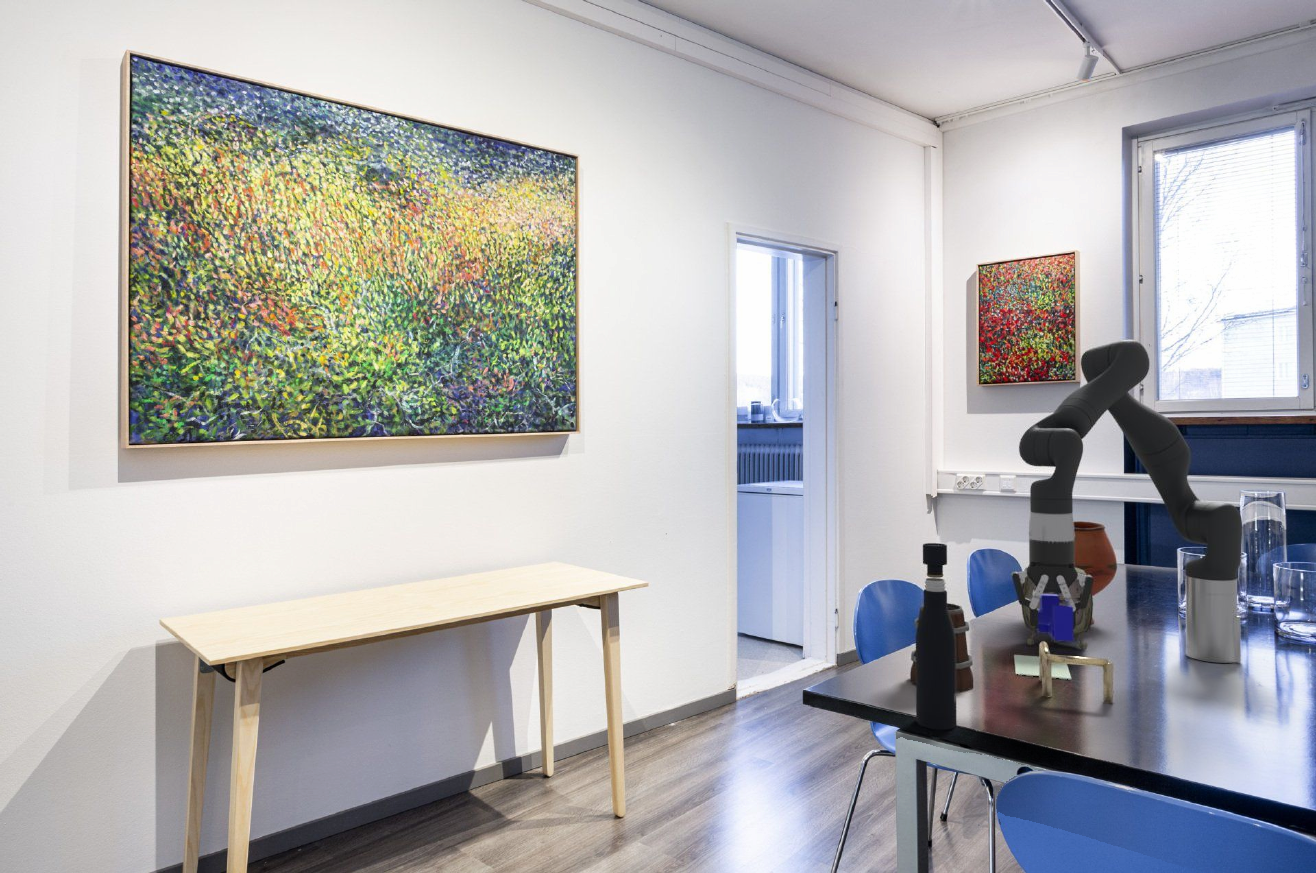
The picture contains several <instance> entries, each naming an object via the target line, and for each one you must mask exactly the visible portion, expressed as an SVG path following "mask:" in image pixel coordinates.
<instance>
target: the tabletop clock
mask: <svg viewBox="0 0 1316 873" xmlns="http://www.w3.org/2000/svg"><path fill="white" fill-rule="evenodd" d="M1027 568H1028V566H1027V567H1025V569H1024V570H1023V571H1026V570H1027ZM1075 569H1076V571H1077V573H1079V574H1083V575H1086V573H1085V572H1084V571H1083V570H1081V569H1079V568H1076V567H1075ZM1022 588H1023V592H1024V595H1025V598H1027V599H1031V596H1032V594H1033V590H1034V588H1035V585H1034V583H1033V582H1032V581H1031V580H1030V578H1029V577H1028V576H1027V577H1025V582H1024V583H1022ZM1068 590H1069V592H1070V595H1071V597H1072V600H1073V602H1076V601H1079V597H1080V594H1081V590H1082V586H1081V585H1080V584H1079V580H1078V579H1076V580H1075V581H1074V582H1073V583H1072V585H1071V586H1070V587H1069V588H1068ZM1042 594H1057V595H1058V596H1059V605H1067V604H1066V602H1065V599H1064V597H1063V594H1058V593H1054V592H1050V593H1042ZM1093 597H1094V596H1092V589H1091V593H1090V596H1089V600H1088V604H1087V607H1086V608H1085V609H1079V610H1077V611H1076V627H1075V629H1073V635H1074V636H1075V637H1076V638H1077V640H1078V641H1079V643H1078V647H1079V649H1081V650H1086V649H1087V647H1088V644H1087V643H1086V642H1085V641H1083V640H1082V637H1081V635H1082V634H1085V633H1087V632H1089V630H1090V627H1091V626H1092V624H1091V621H1092V618H1093V611H1094V608H1093V607H1094V598H1093ZM1020 605H1021V604H1020ZM1037 608H1038V609H1040V600H1039V602H1038V605H1037ZM1021 613H1022V619H1023V622H1024V624H1025V626H1026V628H1027V629H1029V630H1032V634H1031V637H1028V638H1027V639H1026V644H1027V645H1028V646H1033V645H1035V640H1034V639H1035V637H1036V635H1037V633H1039V632H1038V631H1037V630H1035V629H1034V627H1033V626H1031V625H1030V616H1029V608H1028V607H1027V606H1024V605H1021ZM1043 633H1045V634H1047V633H1046V632H1043ZM1050 640H1051V642H1052V643H1054V644H1057V643H1058V642H1059V641H1055V640H1054V639H1053V638H1052V637H1050Z"/></svg>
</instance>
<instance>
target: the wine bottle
mask: <svg viewBox="0 0 1316 873" xmlns="http://www.w3.org/2000/svg"><path fill="white" fill-rule="evenodd" d="M922 564H923V565H926V568H927V569H926V570H927V571H926V576H927V577H928V578H925V580H924V583H925V585H924V588H925V589H924V590H923V592H922V593H923V604H924V607H923V610H922V613H921V615H920V618H919V617H918V618H919V621H918V626H917V628H916V630H915V632H916V633H915V650H916V685H915V709H916V710H915V711H916V712H915V714H916V715H915V717H916V718H915V720H916V721H915V722H916V723H917V724H918V725H919V726H920V727H924V728H927V729H930V730H937V731H944V730H945V731H946V730H948V731H949V730H952V729H954V728H956V727H957V725H958V724H957V692H956V637H955V631H954V627H953V623H952V620H951V617H950V614H949V611H948V608H947V603H948V591H947V590H946V587H947V586H946V582H945V579H944V578H943V577H944V567H943V566H946V565H948V544H946V543H937V542H928V543H927V542H925V543H923V544H922Z"/></svg>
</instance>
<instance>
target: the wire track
mask: <svg viewBox="0 0 1316 873" xmlns="http://www.w3.org/2000/svg"><path fill="white" fill-rule="evenodd" d="M1038 647H1039V648H1038V649H1039V650H1038V653H1039V654H1038V657H1039V677H1038V678H1039V680H1040V681H1039V682H1041V681H1042V682H1041V696H1042V695H1043V696H1052V697H1053V694H1052V693H1053V692H1052V690H1053V688H1052V686H1053V685H1052V679H1053V678H1052V670H1051V662H1053V663H1064V664H1067V665H1076V666H1077V665H1078V666H1080V665H1081V666H1091V667H1099V668H1100V667H1102V701H1104V702H1103V703H1105V702H1108V703H1107V704H1110V703H1111V704H1114V663H1113V662H1110V661H1109V659H1108V658H1098V657H1087V656H1086V657H1085V656H1074V655H1062V654H1061V655H1060V654H1051V652H1050V650H1049V644H1048V643H1047V642H1046V641H1041V642H1040V643H1039V644H1038ZM1043 696H1042V697H1043Z"/></svg>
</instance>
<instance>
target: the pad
mask: <svg viewBox="0 0 1316 873" xmlns="http://www.w3.org/2000/svg"><path fill="white" fill-rule="evenodd" d="M1013 659H1014V669H1015V670H1014V672H1015V675H1016V676H1022V675H1026V676H1025V677H1033V676H1039V656H1035V655H1023V654H1022V655H1021V654H1013ZM1051 670H1052V679H1056V678H1059V679H1058V680H1060V679H1061V680H1067V679H1068V680H1069V681H1072V675H1071V673H1070V670H1069V666H1068V664H1064V663H1053V662H1051ZM1017 674H1018V675H1017Z"/></svg>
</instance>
